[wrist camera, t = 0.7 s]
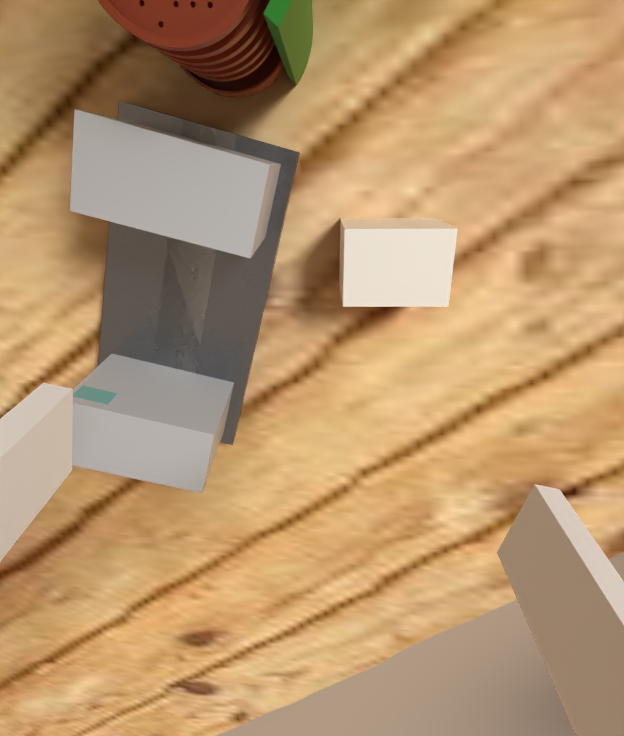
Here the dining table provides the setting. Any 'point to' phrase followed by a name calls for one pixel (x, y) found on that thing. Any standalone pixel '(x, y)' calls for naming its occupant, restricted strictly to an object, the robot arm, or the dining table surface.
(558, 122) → the dining table surface
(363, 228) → the loose relay
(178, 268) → the rail plate
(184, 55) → the motor
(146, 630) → the dining table surface
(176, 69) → the dining table surface
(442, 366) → the dining table surface
